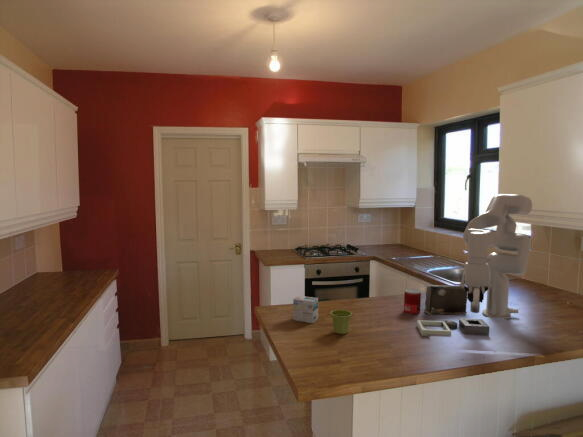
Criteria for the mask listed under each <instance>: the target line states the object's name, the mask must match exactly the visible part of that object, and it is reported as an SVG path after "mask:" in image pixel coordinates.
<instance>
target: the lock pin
mask: <svg viewBox="0 0 583 437" xmlns="http://www.w3.org/2000/svg"><path fill="white" fill-rule="evenodd" d="M471 292H472V294H473V295H472V302H470V313H473V314H474V313H475V314H479V313H480V311H481V310H480V309H481V308H480V305H481V304H480V303H481V302H480V287H474V286H472V291H471Z"/></svg>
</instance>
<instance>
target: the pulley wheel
mask: <svg viewBox="0 0 583 437" xmlns="http://www.w3.org/2000/svg"><path fill="white" fill-rule="evenodd" d="M443 321H444V322H445V323H446V325H447V326H448V327H449V329H450V330H455V329H457V328H458V327H459V323H458V322H456V321H453V320H446V319H445V320H443ZM440 327H442V328H443V323H441V326H440Z"/></svg>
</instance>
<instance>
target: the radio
mask: <svg viewBox="0 0 583 437" xmlns="http://www.w3.org/2000/svg"><path fill="white" fill-rule="evenodd" d="M464 285H465V284H464ZM465 286H466V285H465ZM466 287H467V286H466ZM467 294H468V292H467V291H466V290H465V289H464V288H462V287H461V286H460V285H444V284H443V285H437V284H434V285H433V284H432V285H430V284H428V285H426V291H425V301H424V302H425V303H424V306H425V309H423V312H425V314H428V315H432V316H433V315H434V316H446V315H447V316H448V315H449V316H452V315H462V314H467V303H468V299H467Z"/></svg>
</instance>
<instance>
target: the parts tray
mask: <svg viewBox="0 0 583 437" xmlns="http://www.w3.org/2000/svg"><path fill="white" fill-rule="evenodd" d="M441 323H443V327H442V326H441ZM416 326H417V328H418V331H419V333H420V334H421V336H422V337H431V335H440V336H442V335H443V336H452V331H451V330H452V329H449V327H448V326H447V325H446V323H445V322H444V320H439V321H438V320H424V319H423V320H420V319H417V320H416ZM426 326H440V327H442V328H443V329H430V328H429V329H427V327H426Z"/></svg>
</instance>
